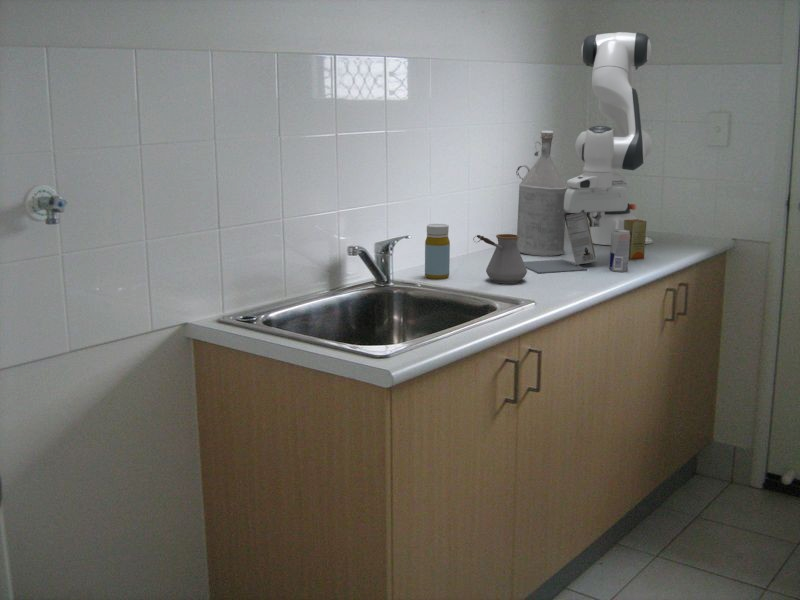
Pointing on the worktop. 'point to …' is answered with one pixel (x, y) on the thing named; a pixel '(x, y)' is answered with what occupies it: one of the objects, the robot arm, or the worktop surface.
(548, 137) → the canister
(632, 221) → the shoe polish box
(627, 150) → the robot arm
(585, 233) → the coffee box
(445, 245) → the bottle
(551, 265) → the mat
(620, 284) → the worktop surface
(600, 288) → the worktop surface
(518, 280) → the coffee pot
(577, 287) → the worktop surface
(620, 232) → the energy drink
